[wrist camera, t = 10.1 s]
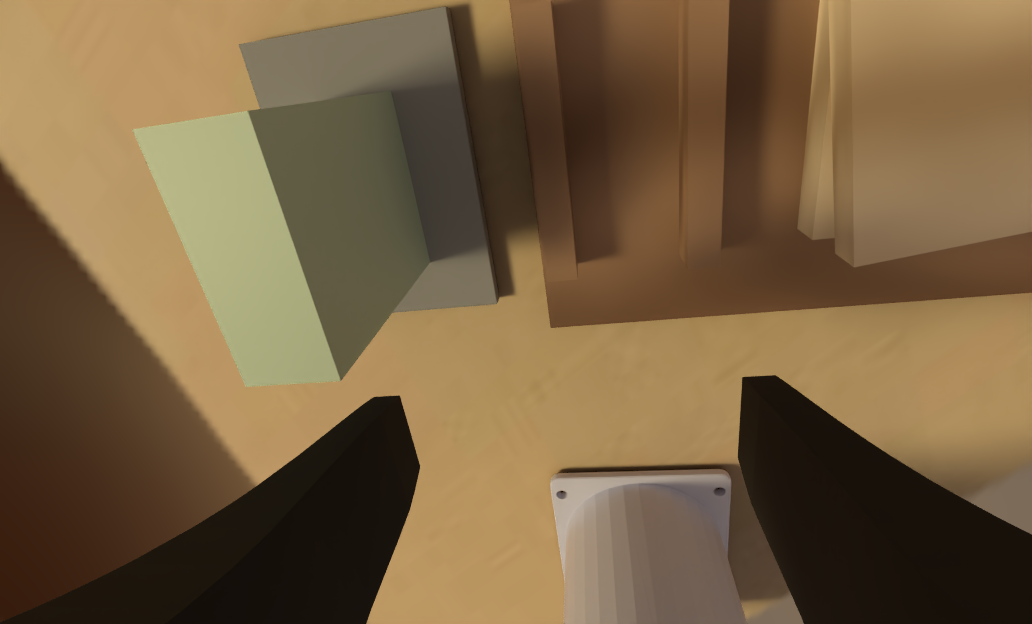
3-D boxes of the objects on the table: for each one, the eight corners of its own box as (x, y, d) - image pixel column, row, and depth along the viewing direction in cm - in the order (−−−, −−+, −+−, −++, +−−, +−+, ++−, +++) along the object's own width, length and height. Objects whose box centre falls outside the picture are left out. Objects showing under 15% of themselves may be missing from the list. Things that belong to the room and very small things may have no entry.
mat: (499, 297, 20) (496, 304, 19) (336, 311, 21) (330, 317, 21) (449, 8, 16) (445, 6, 15) (249, 45, 17) (238, 44, 16)
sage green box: (430, 262, 19) (340, 380, 12) (368, 268, 19) (245, 386, 12) (390, 91, 16) (247, 110, 9) (321, 102, 17) (132, 129, 10)
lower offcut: (968, 211, 16) (997, 222, 15) (797, 228, 17) (812, 239, 16) (1034, -58, 13) (1075, -69, 12) (821, -22, 14) (842, -29, 13)
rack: (1076, 276, 17) (1150, 307, 15) (552, 316, 20) (548, 347, 18) (1259, -242, 12) (1420, -314, 9) (502, -83, 15) (488, -110, 12)
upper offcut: (1024, 214, 15) (1060, 225, 13) (834, 253, 16) (854, 267, 15) (1062, -73, 12) (1110, -86, 11) (828, 0, 13) (850, -6, 12)
